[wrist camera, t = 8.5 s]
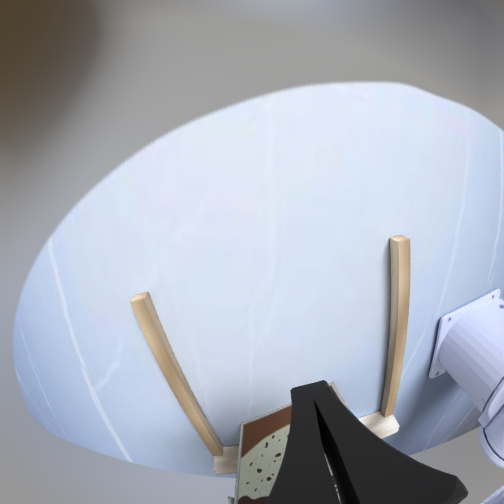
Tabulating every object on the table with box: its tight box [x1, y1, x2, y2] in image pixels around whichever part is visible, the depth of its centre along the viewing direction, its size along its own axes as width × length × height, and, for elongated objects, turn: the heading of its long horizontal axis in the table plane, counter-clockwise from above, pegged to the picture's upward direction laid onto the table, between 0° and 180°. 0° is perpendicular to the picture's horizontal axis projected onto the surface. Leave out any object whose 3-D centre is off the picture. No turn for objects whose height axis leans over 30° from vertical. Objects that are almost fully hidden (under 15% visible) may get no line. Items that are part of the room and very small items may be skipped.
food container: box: [228, 382, 349, 504], centre depth 18 cm, size 12×6×10 cm, turn 122°
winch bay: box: [130, 235, 410, 474], centre depth 18 cm, size 19×21×5 cm
